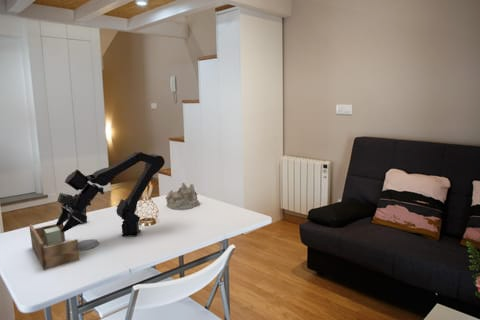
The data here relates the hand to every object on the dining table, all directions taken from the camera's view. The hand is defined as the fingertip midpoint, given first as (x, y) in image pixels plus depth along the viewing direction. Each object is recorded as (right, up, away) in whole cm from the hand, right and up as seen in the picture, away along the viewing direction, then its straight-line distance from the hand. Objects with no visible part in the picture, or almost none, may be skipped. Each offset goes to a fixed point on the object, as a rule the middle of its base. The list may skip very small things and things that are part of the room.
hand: (59, 228), depth 147 cm
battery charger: (-6, -4, +34) cm, 35 cm away
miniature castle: (+40, +2, +58) cm, 71 cm away
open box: (-2, -10, 0) cm, 10 cm away
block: (-2, -10, 0) cm, 10 cm away
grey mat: (+8, -8, +7) cm, 14 cm away
